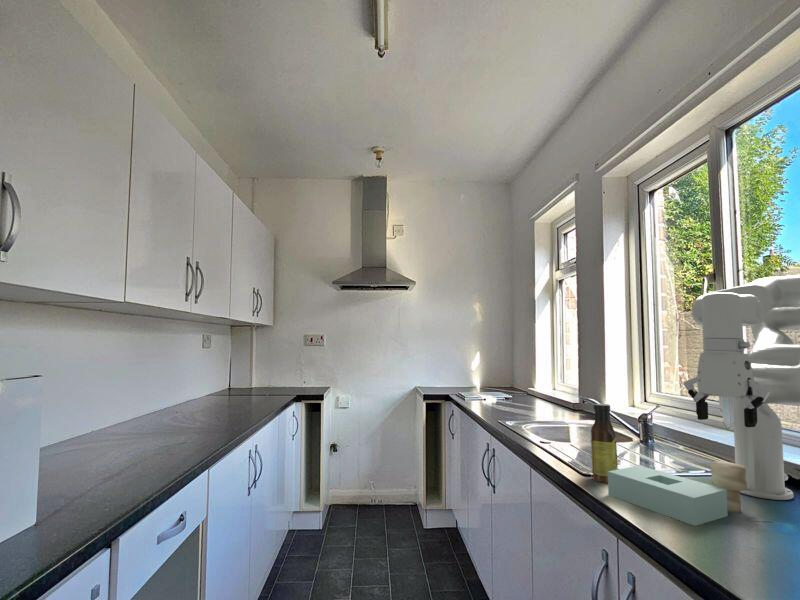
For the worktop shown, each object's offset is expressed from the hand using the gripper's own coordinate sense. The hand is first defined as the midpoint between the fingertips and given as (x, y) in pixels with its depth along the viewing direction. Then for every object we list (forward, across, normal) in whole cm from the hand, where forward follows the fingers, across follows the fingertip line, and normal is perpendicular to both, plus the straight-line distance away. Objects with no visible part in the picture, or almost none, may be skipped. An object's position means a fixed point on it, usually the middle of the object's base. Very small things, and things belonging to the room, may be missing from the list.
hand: (725, 422), depth 102 cm
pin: (+19, 0, -1) cm, 19 cm away
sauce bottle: (+19, +26, +7) cm, 33 cm away
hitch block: (+19, +8, +10) cm, 23 cm away
